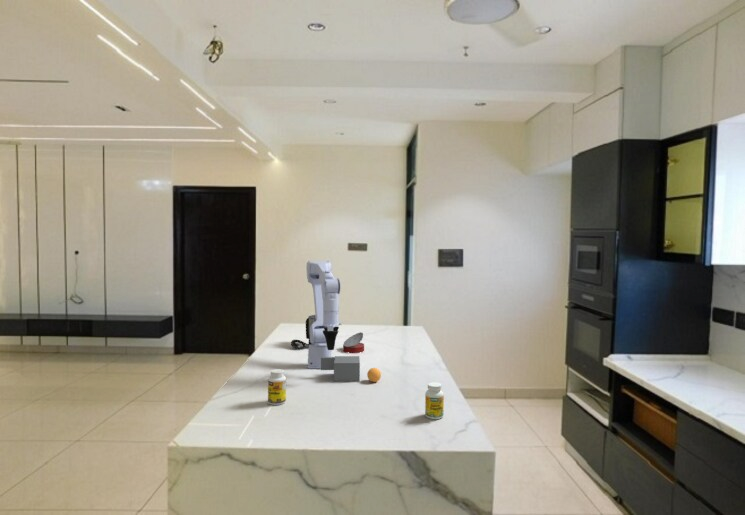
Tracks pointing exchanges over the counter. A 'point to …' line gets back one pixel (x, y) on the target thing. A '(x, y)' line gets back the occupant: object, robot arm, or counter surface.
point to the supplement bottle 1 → (276, 387)
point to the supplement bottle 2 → (434, 401)
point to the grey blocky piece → (342, 367)
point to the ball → (374, 374)
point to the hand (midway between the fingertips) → (331, 348)
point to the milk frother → (308, 323)
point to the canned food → (354, 344)
